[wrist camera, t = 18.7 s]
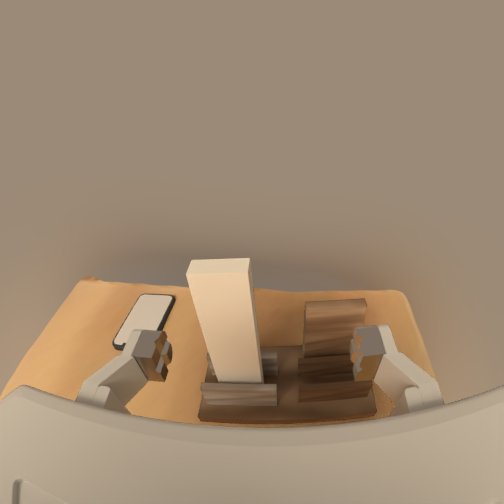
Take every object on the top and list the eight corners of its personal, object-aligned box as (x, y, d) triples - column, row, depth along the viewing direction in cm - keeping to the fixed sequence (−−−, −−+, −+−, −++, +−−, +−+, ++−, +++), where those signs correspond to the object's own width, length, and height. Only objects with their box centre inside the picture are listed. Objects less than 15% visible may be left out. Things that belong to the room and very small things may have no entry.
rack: (374, 415, 35) (384, 395, 32) (200, 421, 37) (189, 402, 34) (359, 346, 46) (366, 322, 43) (213, 352, 49) (206, 328, 45)
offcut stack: (353, 361, 42) (367, 305, 36) (303, 364, 43) (306, 309, 37) (350, 346, 45) (362, 291, 38) (302, 350, 46) (304, 294, 39)
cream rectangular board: (263, 394, 39) (247, 272, 28) (222, 393, 40) (185, 273, 28) (263, 380, 41) (249, 258, 30) (224, 380, 42) (191, 260, 30)
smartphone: (142, 298, 64) (112, 350, 50) (140, 292, 63) (109, 344, 49) (177, 300, 62) (151, 356, 49) (176, 294, 61) (148, 351, 48)
